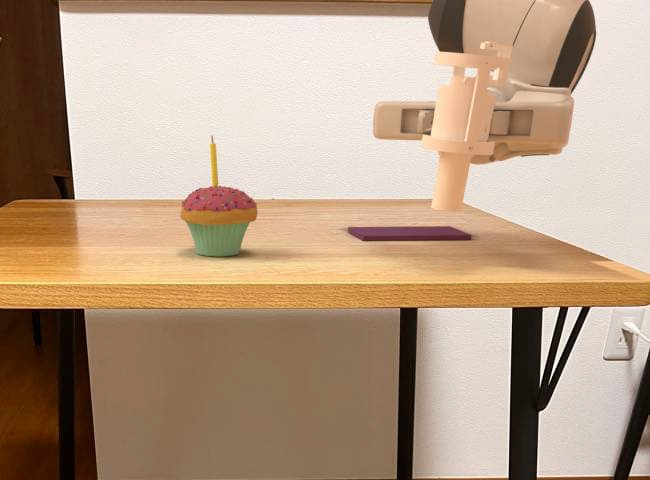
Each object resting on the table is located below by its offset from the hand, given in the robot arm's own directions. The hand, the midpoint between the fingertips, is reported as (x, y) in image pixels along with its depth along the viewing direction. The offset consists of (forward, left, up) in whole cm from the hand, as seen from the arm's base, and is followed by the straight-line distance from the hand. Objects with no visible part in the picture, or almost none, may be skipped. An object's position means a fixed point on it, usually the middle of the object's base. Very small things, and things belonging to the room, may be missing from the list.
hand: (452, 123), depth 85 cm
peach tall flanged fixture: (0, -1, -8) cm, 8 cm away
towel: (+10, -22, -14) cm, 28 cm away
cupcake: (+24, +3, -14) cm, 28 cm away
